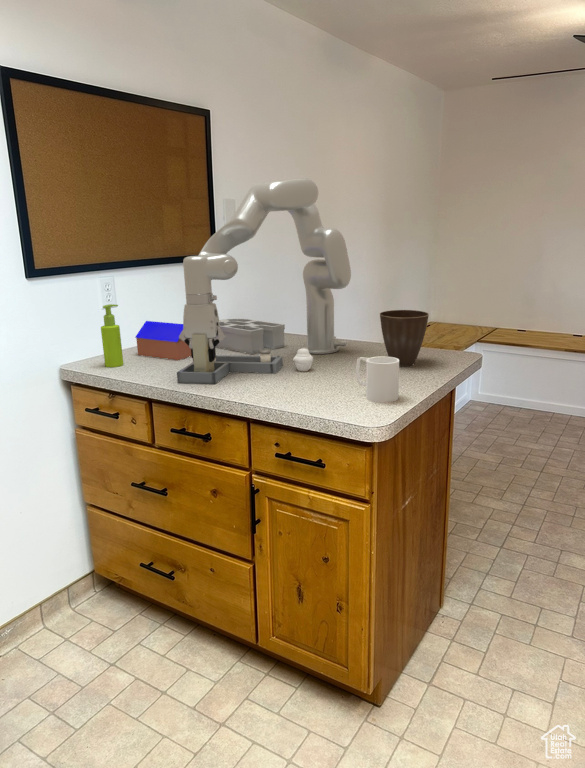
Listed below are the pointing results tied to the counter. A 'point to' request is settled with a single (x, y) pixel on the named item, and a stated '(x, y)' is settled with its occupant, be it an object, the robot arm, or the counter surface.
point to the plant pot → (403, 334)
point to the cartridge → (265, 355)
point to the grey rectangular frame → (251, 363)
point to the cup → (380, 378)
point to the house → (162, 341)
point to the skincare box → (201, 354)
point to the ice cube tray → (251, 335)
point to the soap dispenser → (111, 340)
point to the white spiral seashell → (303, 359)
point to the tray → (203, 374)
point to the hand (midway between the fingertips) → (203, 360)
